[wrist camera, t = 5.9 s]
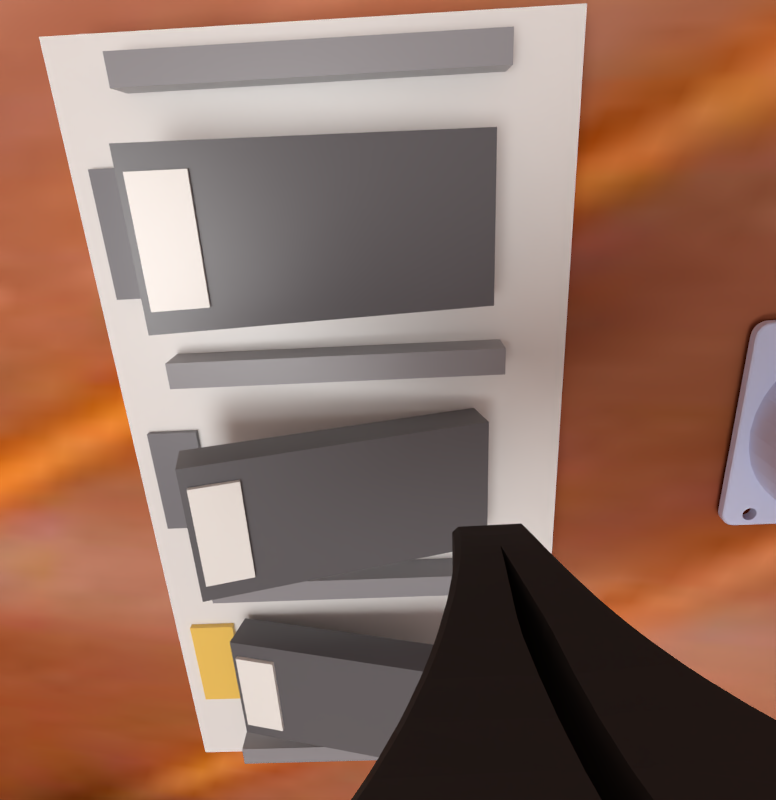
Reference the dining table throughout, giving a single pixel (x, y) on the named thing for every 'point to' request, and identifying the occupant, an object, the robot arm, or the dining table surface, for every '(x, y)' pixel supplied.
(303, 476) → the middle rocker
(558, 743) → the robot arm
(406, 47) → the switch board
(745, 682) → the dining table surface
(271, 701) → the block
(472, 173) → the rocker
